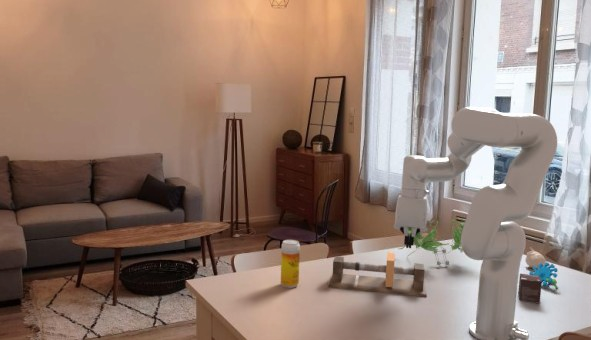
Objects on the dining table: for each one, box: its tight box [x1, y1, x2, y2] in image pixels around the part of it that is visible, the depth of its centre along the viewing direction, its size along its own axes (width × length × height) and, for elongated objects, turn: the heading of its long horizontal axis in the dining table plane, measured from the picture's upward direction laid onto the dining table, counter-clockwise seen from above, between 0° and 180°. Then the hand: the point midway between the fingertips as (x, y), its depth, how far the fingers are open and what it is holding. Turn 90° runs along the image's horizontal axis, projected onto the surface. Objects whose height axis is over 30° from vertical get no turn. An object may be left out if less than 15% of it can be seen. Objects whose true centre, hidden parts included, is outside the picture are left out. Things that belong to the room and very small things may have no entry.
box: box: [517, 273, 543, 304], centre depth 162 cm, size 6×6×7 cm
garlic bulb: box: [525, 246, 547, 270], centre depth 193 cm, size 7×6×8 cm
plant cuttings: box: [399, 219, 465, 268], centre depth 196 cm, size 35×17×22 cm
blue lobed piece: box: [528, 261, 559, 289], centre depth 176 cm, size 11×6×10 cm
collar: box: [385, 252, 396, 287], centre depth 169 cm, size 2×9×9 cm, turn 169°
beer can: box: [280, 239, 301, 289], centre depth 167 cm, size 6×6×15 cm
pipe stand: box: [327, 255, 428, 298], centre depth 170 cm, size 32×12×8 cm, turn 79°
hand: (408, 246), depth 167 cm, fingers closed
